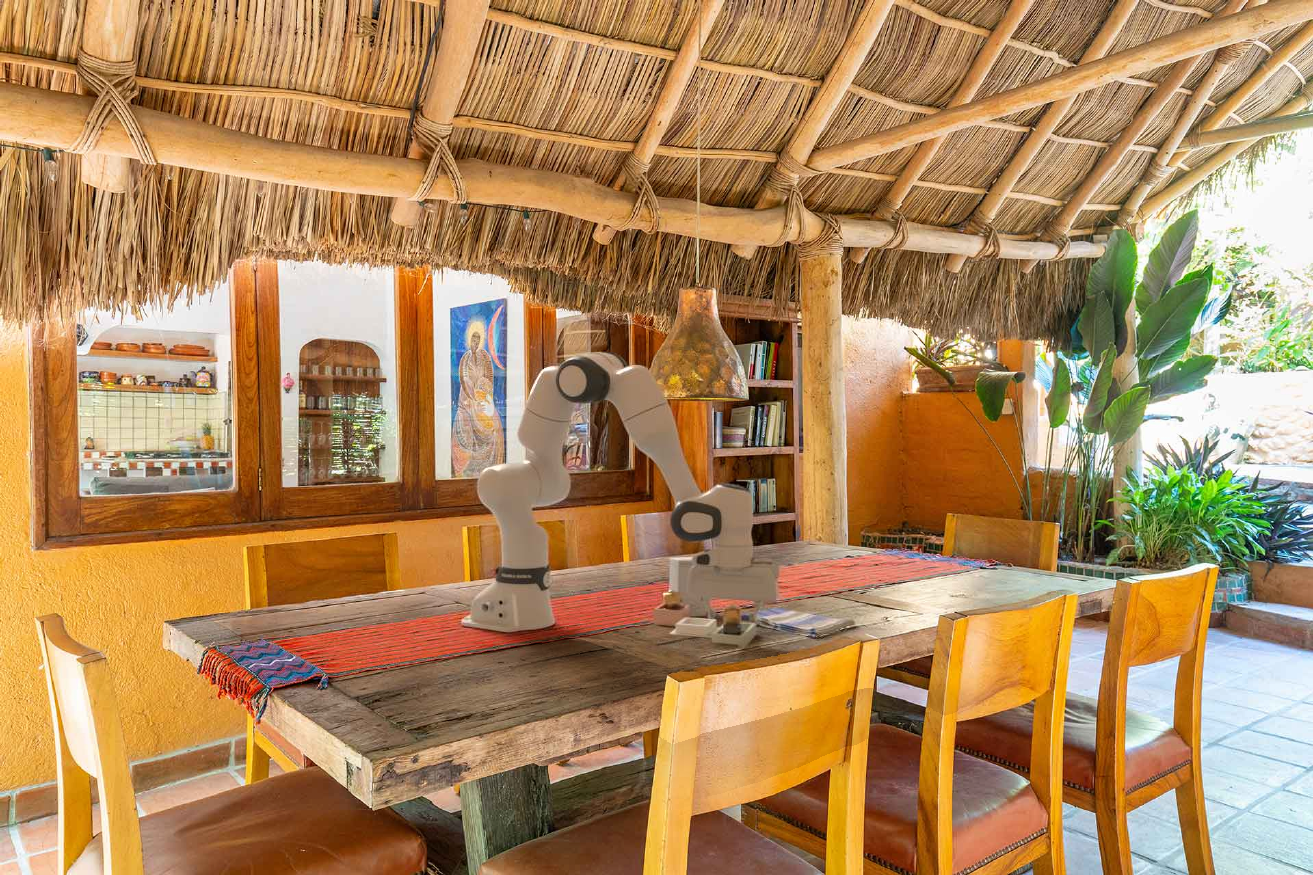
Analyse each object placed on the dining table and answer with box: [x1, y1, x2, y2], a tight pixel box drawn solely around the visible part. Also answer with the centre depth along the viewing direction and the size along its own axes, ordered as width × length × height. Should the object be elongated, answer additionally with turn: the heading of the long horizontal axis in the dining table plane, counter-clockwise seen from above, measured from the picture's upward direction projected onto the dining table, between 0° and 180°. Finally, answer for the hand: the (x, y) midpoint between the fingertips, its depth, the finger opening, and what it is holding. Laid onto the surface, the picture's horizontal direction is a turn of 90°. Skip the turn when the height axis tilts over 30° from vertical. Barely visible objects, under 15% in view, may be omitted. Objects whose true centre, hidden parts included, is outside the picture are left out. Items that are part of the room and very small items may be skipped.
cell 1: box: [662, 589, 680, 610], centre depth 208 cm, size 4×4×8 cm
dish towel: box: [741, 607, 856, 639], centre depth 209 cm, size 17×24×3 cm
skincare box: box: [668, 556, 708, 618], centre depth 217 cm, size 8×6×15 cm
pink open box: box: [653, 603, 691, 627], centre depth 208 cm, size 7×7×4 cm
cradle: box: [669, 617, 720, 639], centre depth 199 cm, size 10×9×3 cm
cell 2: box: [722, 604, 742, 635], centre depth 192 cm, size 4×4×8 cm
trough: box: [711, 621, 757, 649], centre depth 194 cm, size 7×13×3 cm, turn 161°
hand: (732, 619), depth 192 cm, fingers open, 8 cm apart
